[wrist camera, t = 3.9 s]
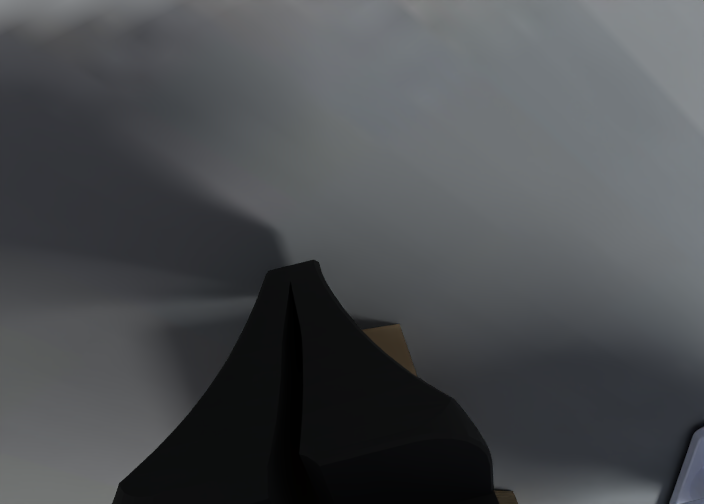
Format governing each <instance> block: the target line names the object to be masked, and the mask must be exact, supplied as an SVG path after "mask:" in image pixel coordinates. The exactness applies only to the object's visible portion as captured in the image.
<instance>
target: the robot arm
mask: <svg viewBox="0 0 704 504" xmlns="http://www.w3.org/2000/svg"><path fill="white" fill-rule="evenodd" d="M112 504H499V501H498V499H497V496H496V494H495V491H494V486H493V465H492V458H491V454H490V451H489V449H488V446H487V445H486V443H485V441H484V439H483V438H482V436H481V434H480V432H479V431H478V429H477V428H476V426H475V425H474V424H473V422H472V421H471V420H470V418H469V417H468V416H467V414H466V413H465V412H464V410H463V409H462V408H461V407H460V405H459V404H458V403H457V402H456V401H455V399H453V398H451V397H449V396H448V395H446V394H444V393H442V392H441V391H439V390H437V389H436V388H434V387H432V386H431V385H429V384H427V383H426V382H424V381H423V380H421V379H420V378H418V377H417V376H415V375H414V374H412V373H411V372H410V371H408V370H407V369H406V368H404V367H403V366H402V365H401V364H399V363H398V362H397V361H395V360H394V359H393V358H392V357H390V356H389V355H388V354H387V353H385V352H384V351H383V350H382V349H381V348H380V347H379V346H378V345H377V344H375V343H374V342H373V341H372V340H371V339H370V338H369V337H368V336H367V335H366V334H365V333H364V332H363V331H362V330H361V328H360V327H359V326H358V325H357V324H356V323H355V322H354V320H353V319H352V318H351V317H350V316H349V315H348V313H347V312H346V311H345V309H344V308H343V307H342V306H341V304H340V303H339V301H338V300H337V298H336V297H335V296H334V294H333V293H332V291H331V289H330V288H329V286H328V284H327V283H326V281H325V279H324V277H323V275H322V272H321V268H320V265H319V262H317V261H315V260H310V261H306V262H302V263H298V264H294V265H290V266H286V267H282V268H278V269H274V270H270V271H268V272H267V274H266V275H265V278H264V281H263V284H262V287H261V290H260V292H259V295H258V298H257V300H256V303H255V305H254V307H253V310H252V312H251V314H250V316H249V319H248V321H247V323H246V325H245V327H244V329H243V331H242V333H241V335H240V337H239V339H238V341H237V343H236V345H235V347H234V348H233V350H232V352H231V354H230V356H229V357H228V359H227V361H226V362H225V364H224V366H223V367H222V369H221V370H220V372H219V373H218V375H217V376H216V378H215V380H214V381H213V382H212V384H211V385H210V387H209V388H208V389H207V391H206V392H205V393H204V395H203V396H202V397H201V399H200V400H199V401H198V403H197V404H196V405H195V406H194V408H193V409H192V410H191V412H190V413H189V414H188V415H187V416H186V417H185V419H184V420H183V421H182V422H181V423H180V424H179V425H178V427H177V428H176V429H175V430H174V431H173V432H172V433H171V434H170V435H169V436H168V437H167V438H166V439H165V440H164V442H163V443H162V444H161V445H160V446H159V447H158V448H157V449H156V450H155V451H154V452H153V453H152V454H150V455H149V456H148V457H147V458H146V459H145V460H144V461H143V462H142V463H141V464H140V465H139V466H138V467H137V468H136V469H134V470H133V471H132V472H131V473H130V474H129V475H128V476H127V477H126V478H125V479H124V480H122V481H121V482H120V483H119V486H118V489H117V492H116V495H115V497H114V500H113V503H112ZM669 504H704V427H702V428H700V429H698V430H697V431H696V432H695V433H694V434H693V437H692V440H691V443H690V445H689V448H688V451H687V454H686V457H685V460H684V463H683V466H682V468H681V471H680V474H679V477H678V480H677V483H676V486H675V489H674V491H673V494H672V497H671V500H670V503H669Z"/></svg>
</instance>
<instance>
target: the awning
mask: <svg viewBox="0 0 704 504" xmlns="http://www.w3.org/2000/svg"><path fill="white" fill-rule="evenodd" d="M494 491H495V494H496V496H497V499H498V501H499V504H518V502H517V500H516V497H515V495H514V493H513V491H498V490H494Z"/></svg>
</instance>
